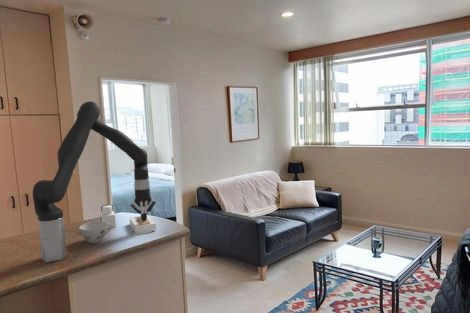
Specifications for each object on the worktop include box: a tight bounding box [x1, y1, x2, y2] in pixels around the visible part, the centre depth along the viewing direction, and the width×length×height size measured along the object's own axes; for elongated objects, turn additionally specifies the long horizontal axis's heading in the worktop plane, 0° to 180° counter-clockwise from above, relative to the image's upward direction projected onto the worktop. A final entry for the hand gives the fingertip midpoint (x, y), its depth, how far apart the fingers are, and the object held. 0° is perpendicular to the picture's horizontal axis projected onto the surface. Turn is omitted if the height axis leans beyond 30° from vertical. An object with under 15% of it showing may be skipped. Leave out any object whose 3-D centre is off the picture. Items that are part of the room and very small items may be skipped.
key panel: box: [129, 214, 157, 235], centre depth 178 cm, size 19×10×4 cm, turn 27°
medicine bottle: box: [99, 204, 117, 229], centre depth 181 cm, size 7×7×12 cm
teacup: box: [79, 220, 113, 244], centre depth 160 cm, size 15×12×8 cm
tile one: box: [139, 219, 150, 225], centre depth 172 cm, size 4×4×3 cm
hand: (144, 220), depth 172 cm, fingers closed
